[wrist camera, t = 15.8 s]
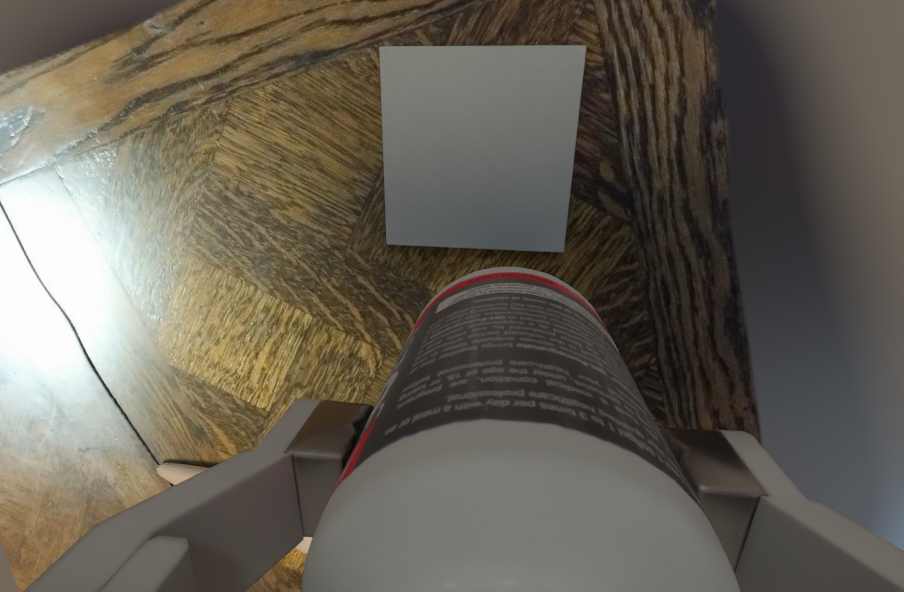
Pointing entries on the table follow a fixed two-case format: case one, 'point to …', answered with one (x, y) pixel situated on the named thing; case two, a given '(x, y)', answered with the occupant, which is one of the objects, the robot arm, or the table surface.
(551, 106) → the coaster
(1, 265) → the table surface
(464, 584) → the pill bottle
